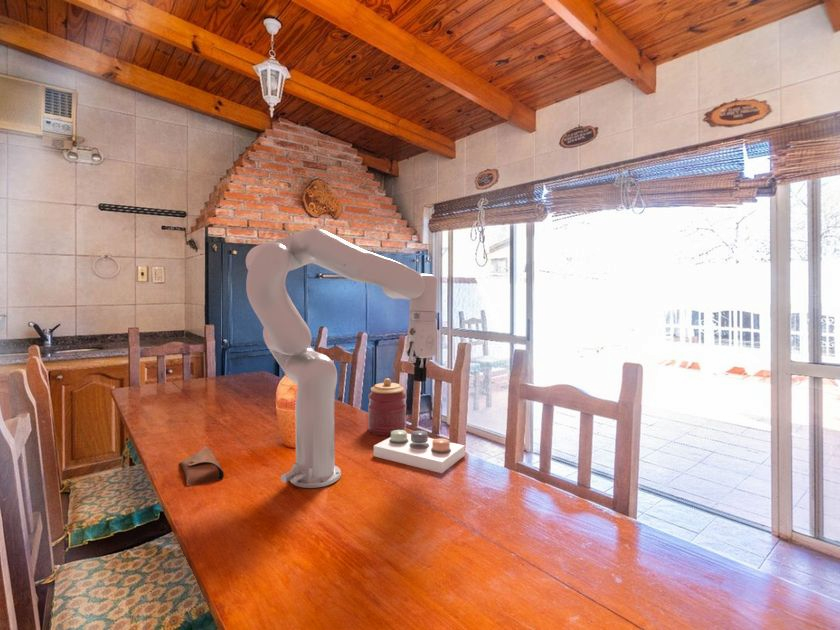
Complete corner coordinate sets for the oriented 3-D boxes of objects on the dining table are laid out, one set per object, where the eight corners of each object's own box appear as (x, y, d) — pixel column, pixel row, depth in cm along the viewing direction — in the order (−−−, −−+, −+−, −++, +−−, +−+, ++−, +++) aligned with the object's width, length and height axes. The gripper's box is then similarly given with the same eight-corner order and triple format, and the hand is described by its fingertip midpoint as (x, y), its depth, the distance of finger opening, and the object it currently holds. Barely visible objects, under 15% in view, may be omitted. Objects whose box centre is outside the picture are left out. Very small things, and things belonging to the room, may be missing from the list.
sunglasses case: (176, 462, 118) (189, 439, 119) (201, 470, 122) (214, 447, 123) (186, 487, 103) (201, 460, 105) (214, 495, 107) (228, 469, 109)
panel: (441, 473, 112) (442, 461, 112) (373, 456, 124) (373, 445, 123) (464, 455, 124) (464, 444, 124) (400, 441, 136) (400, 431, 135)
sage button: (401, 443, 124) (401, 436, 124) (387, 440, 127) (387, 433, 126) (410, 438, 128) (410, 431, 128) (396, 435, 131) (396, 428, 131)
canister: (386, 439, 138) (386, 384, 137) (359, 430, 146) (359, 378, 145) (414, 429, 147) (414, 378, 146) (388, 421, 156) (388, 373, 155)
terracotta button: (444, 452, 117) (444, 445, 117) (429, 449, 119) (429, 442, 119) (452, 447, 121) (452, 440, 121) (437, 444, 124) (437, 437, 123)
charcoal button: (422, 444, 120) (422, 437, 120) (407, 441, 123) (407, 434, 123) (430, 439, 125) (430, 432, 124) (416, 436, 127) (416, 429, 127)
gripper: (419, 318, 116) (416, 386, 117) (446, 317, 129) (443, 379, 129) (396, 317, 120) (394, 382, 121) (424, 316, 133) (422, 375, 133)
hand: (419, 380), depth 125 cm, fingers closed
